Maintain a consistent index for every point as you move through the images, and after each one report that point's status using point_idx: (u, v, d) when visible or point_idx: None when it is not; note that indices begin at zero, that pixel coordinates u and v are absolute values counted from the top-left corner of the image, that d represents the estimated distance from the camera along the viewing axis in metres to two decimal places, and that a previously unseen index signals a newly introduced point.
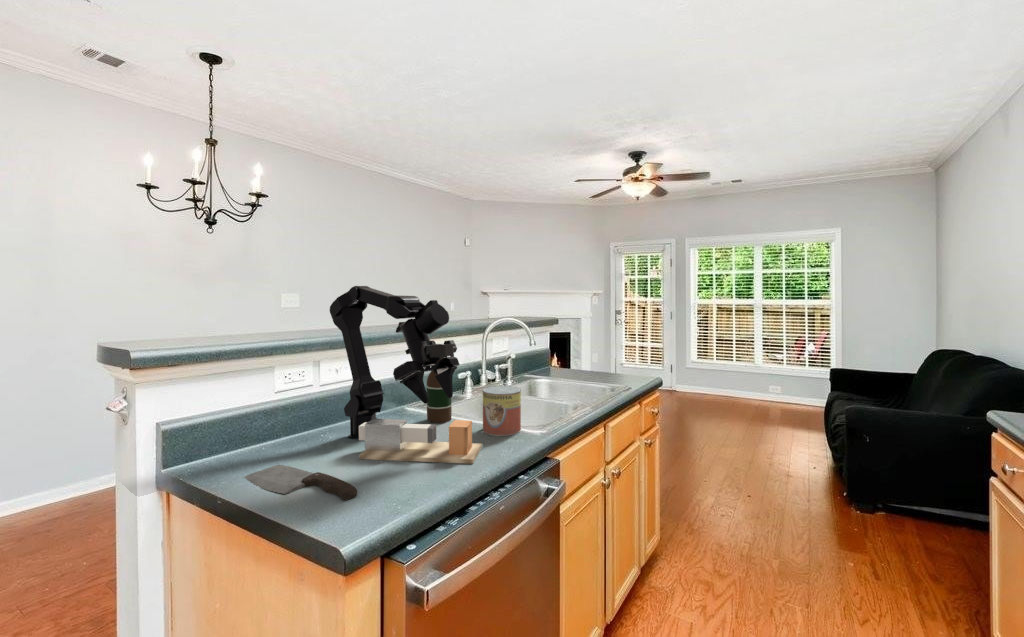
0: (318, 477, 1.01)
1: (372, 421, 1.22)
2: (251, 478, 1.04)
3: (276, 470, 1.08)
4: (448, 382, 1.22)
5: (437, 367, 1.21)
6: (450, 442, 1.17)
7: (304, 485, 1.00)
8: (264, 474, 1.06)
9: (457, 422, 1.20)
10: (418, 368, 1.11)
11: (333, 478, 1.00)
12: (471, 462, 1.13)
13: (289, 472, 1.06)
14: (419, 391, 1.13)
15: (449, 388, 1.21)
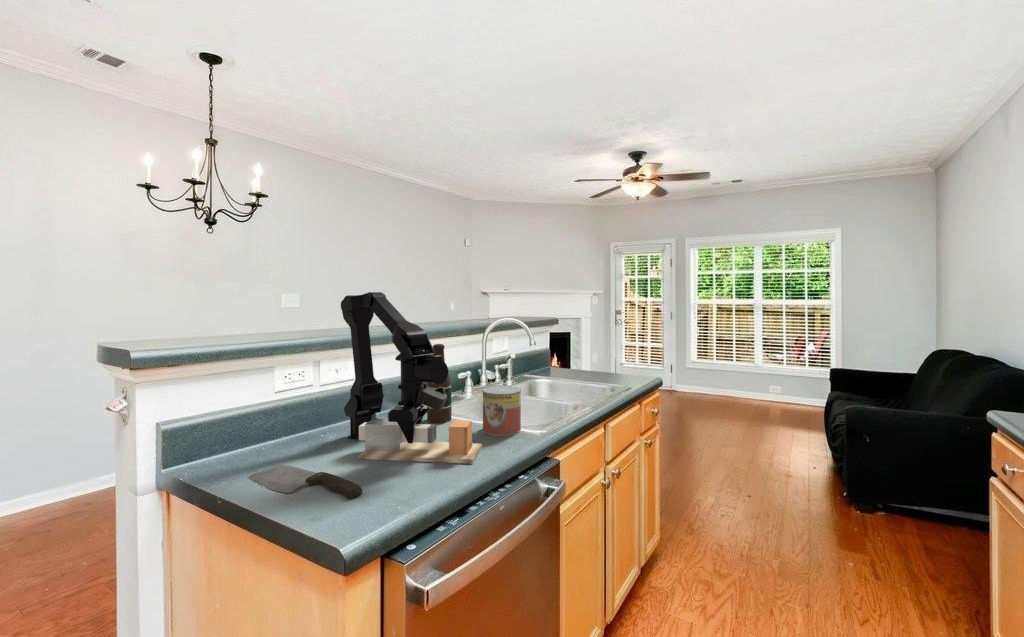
0: (322, 477, 1.01)
1: (372, 421, 1.22)
2: (254, 478, 1.04)
3: (278, 470, 1.08)
4: (418, 423, 1.23)
5: None
6: (450, 442, 1.17)
7: (308, 484, 1.00)
8: (267, 474, 1.06)
9: (457, 422, 1.20)
10: (416, 417, 1.13)
11: (337, 477, 1.01)
12: (471, 462, 1.13)
13: (292, 472, 1.06)
14: (409, 432, 1.18)
15: None
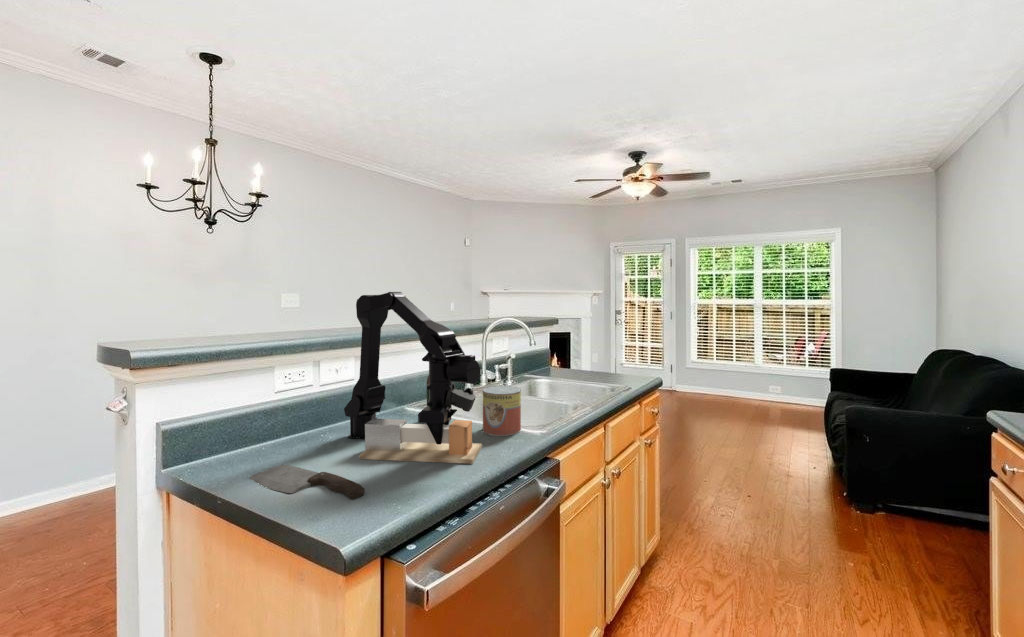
0: (324, 477, 1.01)
1: (372, 421, 1.22)
2: (256, 478, 1.04)
3: (280, 470, 1.08)
4: (445, 424, 1.22)
5: None
6: (450, 442, 1.17)
7: (310, 484, 1.00)
8: (269, 474, 1.06)
9: (457, 422, 1.20)
10: (446, 418, 1.13)
11: (339, 477, 1.01)
12: (471, 462, 1.13)
13: (294, 472, 1.06)
14: (437, 433, 1.17)
15: None
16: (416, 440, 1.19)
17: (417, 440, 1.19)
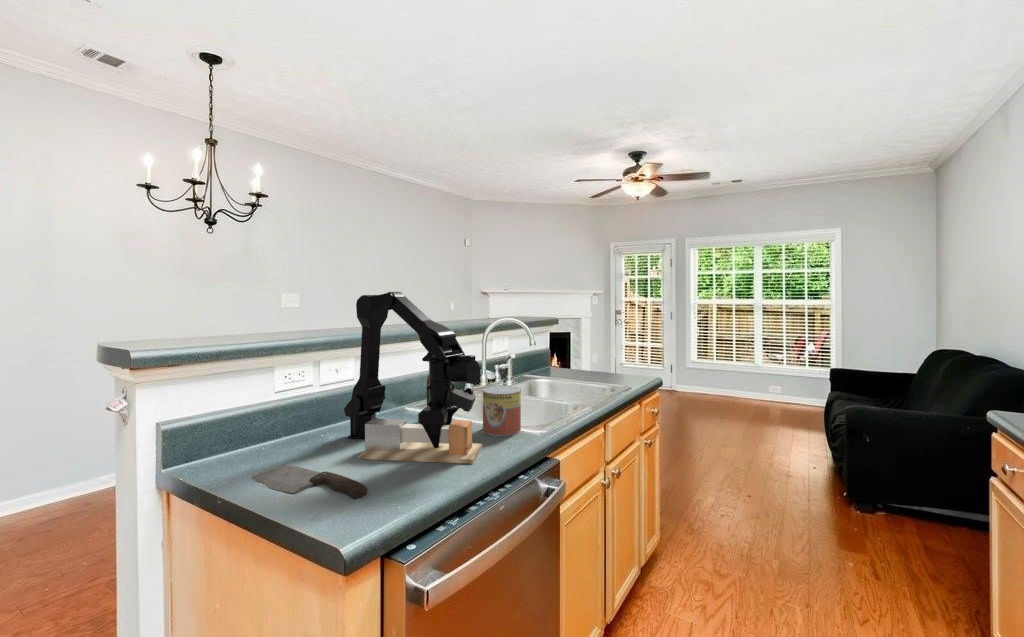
0: (326, 476, 1.02)
1: (372, 421, 1.22)
2: (257, 478, 1.04)
3: (281, 470, 1.08)
4: (448, 421, 1.25)
5: None
6: (450, 442, 1.17)
7: (312, 484, 1.00)
8: (270, 474, 1.06)
9: (457, 422, 1.20)
10: (446, 418, 1.13)
11: (341, 477, 1.01)
12: (471, 462, 1.13)
13: (295, 472, 1.06)
14: (435, 436, 1.14)
15: None
16: (416, 440, 1.19)
17: (417, 440, 1.19)
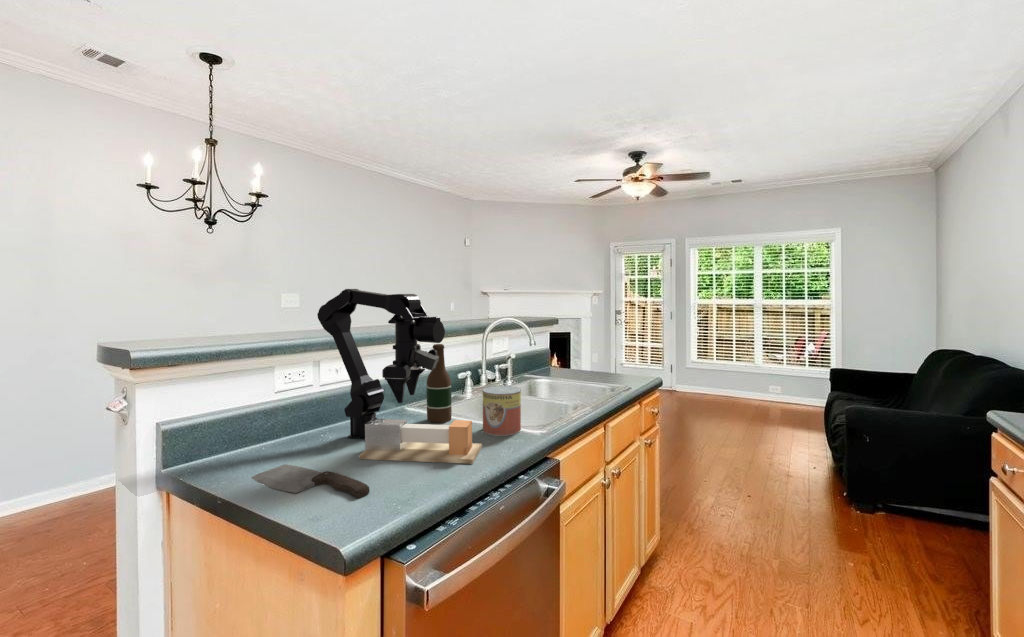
0: (328, 476, 1.02)
1: (372, 421, 1.22)
2: (259, 478, 1.04)
3: (283, 469, 1.08)
4: (414, 381, 1.33)
5: None
6: (450, 442, 1.17)
7: (314, 484, 1.00)
8: (272, 474, 1.06)
9: (457, 422, 1.20)
10: (408, 375, 1.21)
11: (343, 476, 1.01)
12: (471, 462, 1.13)
13: (297, 471, 1.06)
14: (398, 392, 1.23)
15: (414, 387, 1.33)
16: (416, 440, 1.19)
17: (417, 440, 1.19)
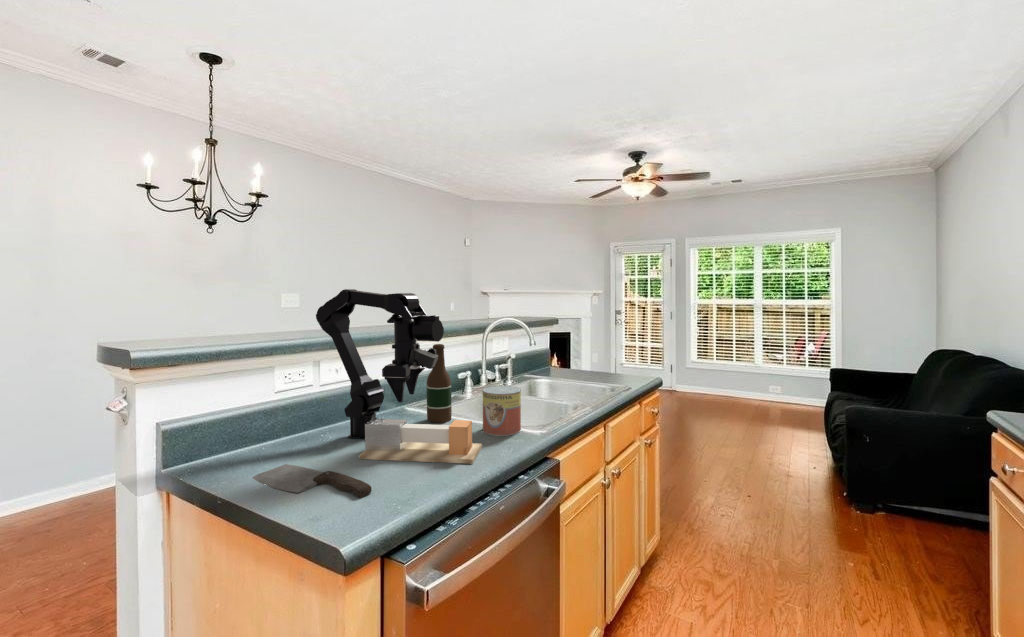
0: (330, 476, 1.02)
1: (372, 421, 1.22)
2: (260, 478, 1.04)
3: (284, 469, 1.08)
4: (413, 380, 1.33)
5: None
6: (450, 442, 1.17)
7: (316, 484, 1.01)
8: (273, 474, 1.06)
9: (457, 422, 1.20)
10: (408, 374, 1.21)
11: (345, 476, 1.01)
12: (471, 462, 1.13)
13: (298, 471, 1.06)
14: (398, 391, 1.23)
15: (413, 386, 1.33)
16: (416, 440, 1.19)
17: (417, 440, 1.19)
